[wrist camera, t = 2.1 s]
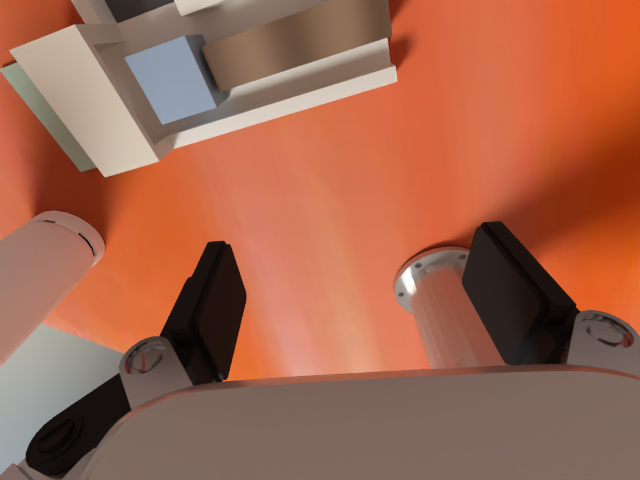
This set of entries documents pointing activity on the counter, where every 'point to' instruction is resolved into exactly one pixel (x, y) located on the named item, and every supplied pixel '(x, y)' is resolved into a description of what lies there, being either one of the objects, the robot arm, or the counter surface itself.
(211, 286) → the robot arm
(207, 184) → the counter surface
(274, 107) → the lane
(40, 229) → the bottle
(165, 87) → the block
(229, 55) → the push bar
